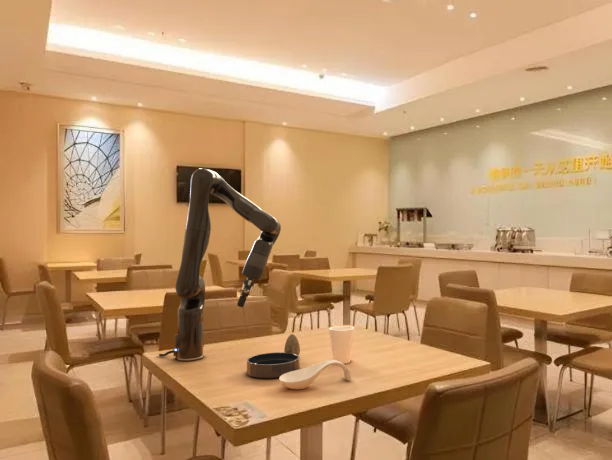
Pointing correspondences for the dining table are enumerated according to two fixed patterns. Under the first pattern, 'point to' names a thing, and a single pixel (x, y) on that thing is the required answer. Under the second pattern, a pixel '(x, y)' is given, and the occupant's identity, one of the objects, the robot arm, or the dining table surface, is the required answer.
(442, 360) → the dining table surface
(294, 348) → the decorative egg
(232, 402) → the dining table surface
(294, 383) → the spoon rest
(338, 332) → the foam cup
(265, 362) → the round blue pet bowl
